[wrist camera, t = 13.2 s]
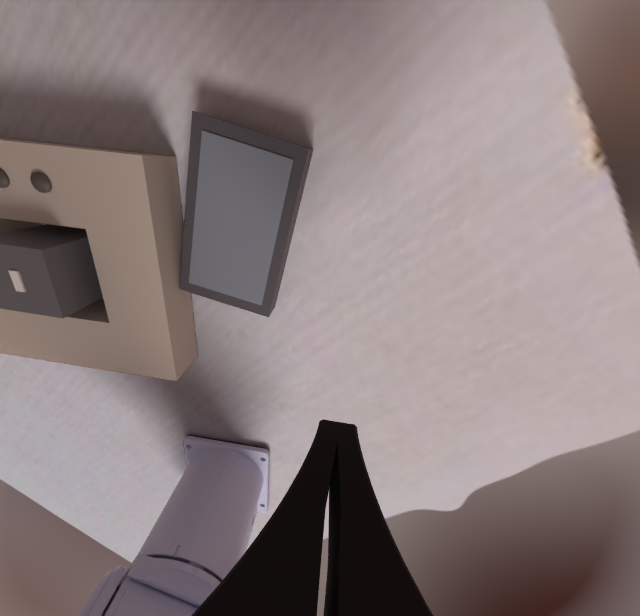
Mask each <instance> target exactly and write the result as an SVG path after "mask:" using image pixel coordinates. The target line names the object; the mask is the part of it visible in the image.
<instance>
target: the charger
mask: <svg viewBox="0 0 640 616" xmlns="http://www.w3.org/2000/svg"><path fill="white" fill-rule="evenodd" d="M101 298H103V295H102V291H101V287H100V283H99V280H98V276H97V272H96V268H95V264H94V260H93V256H92V252H91V248H90V244H89V240H88V236H87V232H86V229H82V228H74V227H66V226H58V225H51V224H45V225H40V226H35V227H30V228H25V229H20V230H15V231H10V232H5V233H0V309H6V310H13V311H19V312H25V313H31V314H38V315H44V316H50V317H57V318H65V317H67V316H69V315H71V314H73V313H75V312H77V311H79V310H80V309H82V308H84V307H86V306H88V305H90V304H92V303H94V302H96V301H98V300H100V299H101Z"/></svg>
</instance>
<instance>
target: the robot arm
mask: <svg viewBox="0 0 640 616" xmlns="http://www.w3.org/2000/svg"><path fill="white" fill-rule="evenodd" d="M183 444H184V450H185V457H186V463H187V469H186V470H185V472H184V474H183V476H182V478H181V479H180V481H179V483H178V485H177V486H176V488H175V490H174V492H173V493H172V495H171V497H170V499H169V500H168V502H167V504H166V506H165V508H164V509H163V511H162V513H161V515H160V516H159V518H158V520H157V522H156V523H155V525H154V527H153V529H152V530H151V532H150V534H149V536H148V538H147V539H146V541H145V543H144V545H143V546H142V548H141V550H140V552H139V553H138V555H137V557H136V558H135V560H134V561H133V562H132V564H131V565H130V567H129V568H128V570H127V571H126V568H125V567H123V566H122V565H119V566H117V567H116V569H115V570H111V571H109V572H107V573H105V574H104V576H103V578H102V579H101V581H100V583H99V584H98V586H97V587H96V589H95V591H94V592H93V594H92V595H91V597H90V599H89V600H88V602H87V603H86V605H85V607H84V608H83V610H82V611H81V613H80V615H79V616H317V603H318V590H319V578H320V565H321V553H322V542H323V530H324V519H325V508H326V502H327V497H328V492H329V544H328V545H329V546H328V572H327V583H326V596H325V606H324V616H433V614H432V613H431V611H430V609H429V607H428V606H427V604H426V602H425V600H424V598H423V597H422V595H421V593H420V591H419V589H418V587H417V585H416V583H415V581H414V580H413V578H412V576H411V574H410V572H409V570H408V568H407V566H406V565H405V562H404V561H403V558H402V556H401V554H400V552H399V550H398V548H397V546H396V544H395V541H394V539H393V537H392V535H391V533H390V530H389V528H388V526H387V523H386V521H385V519H384V516H383V514H382V511H381V509H380V506H379V504H378V501H377V498H376V496H375V493H374V490H373V487H372V485H371V482H370V478H369V475H368V472H367V469H366V466H365V463H364V459H363V455H362V452H361V448H360V443H359V439H358V433H357V427H356V426H355V425H353V424H347V423H341V422H334V421H328V420H321V421H320V422H319V426H318V430H317V433H316V436H315V438H314V441H313V443H312V446H311V448H310V450H309V452H308V454H307V457H306V459H305V461H304V463H303V465H302V467H301V469H300V471H299V472H298V474H297V476H296V478H295V479H294V481H293V483H292V485H291V486H290V488H289V490H288V492H287V493H286V495H285V496H284V498H283V500H282V501H281V503H280V504H279V506H278V507H277V509H276V510H275V512H274V513H273V515H272V516H271V518H270V519H269V521H268V522H267V524H266V525H265V526H264V528H263V529H262V531H261V532H260V533H259V535H258V536H257V538H256V539H255V540H254V542H253V543H252V544H251V546H250V547H249V548H248V549H247V545H248V542H249V538H250V535H251V532H252V528H253V525H254V521H255V518H256V514H257V513H260V514H266V513H267V511H268V491H269V455H270V453H269V451H268V450H267V449H264V448H258V447H252V446H246V445H240V444H234V443H228V442H223V441H217V440H211V439H205V438H199V437H193V436H186V437H185V438H184V440H183ZM246 549H247V551H246ZM125 571H126V573H125ZM124 573H125V574H124Z"/></svg>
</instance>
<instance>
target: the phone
mask: <svg viewBox="0 0 640 616" xmlns="http://www.w3.org/2000/svg"><path fill="white" fill-rule="evenodd" d="M312 152H313V150H312V149H309V148H306V147H303V146H300V145H297V144H294V143H291V142H287V141H284V140H281V139H278V138H275V137H272V136H269V135H266V134H263V133H260V132H257V131H254V130H250V129H247V128H244V127H241V126H238V125H235V124H232V123H229V122H226V121H223V120H220V119H216V118H213V117H210V116H207V115H204V114H201V113H198V112H195V111H192V125H191V139H190V153H189V167H188V180H187V194H186V208H185V222H184V235H183V249H182V263H181V277H180V289H181V290H184V291H187V292H190V293H194V294H197V295H200V296H203V297H206V298H209V299H213V300H216V301H219V302H222V303H225V304H228V305H232V306H235V307H238V308H241V309H244V310H248V311H251V312H254V313H257V314H260V315H263V316H267V317H269V316H270V314H271V313H272V311H273V309H274V308H275V305H276V300H277V296H278V292H279V288H280V284H281V280H282V276H283V272H284V268H285V263H286V259H287V255H288V251H289V247H290V243H291V239H292V235H293V231H294V226H295V222H296V218H297V214H298V210H299V206H300V202H301V198H302V194H303V189H304V185H305V181H306V177H307V173H308V169H309V165H310V161H311V157H312Z"/></svg>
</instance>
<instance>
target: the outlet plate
mask: <svg viewBox="0 0 640 616" xmlns="http://www.w3.org/2000/svg"><path fill="white" fill-rule="evenodd" d="M42 223H43V224H51V225H58V226H66V227H74V228H82V229H86V232H87V236H88V240H89V244H90V248H91V252H92V256H93V260H94V264H95V268H96V272H97V276H98V280H99V283H100V287H101V291H102V295H103V298H101V299H100V300H98V301H96V302H94V303H92V304H90V305H88V306H86V307H84V308H82V309H80V310H79V311H77V312H75V313H73V314H71V315H69V316H67V317H65V318H57V317H50V316H44V315H38V314H31V313H25V312H19V311H13V310H6V309H0V353H2V354H8V355H15V356H21V357H27V358H33V359H40V360H46V361H52V362H59V363H65V364H71V365H77V366H84V367H90V368H96V369H103V370H109V371H115V372H121V373H128V374H134V375H140V376H147V377H153V378H159V379H165V380H172V381H177V380H178V379H179V378H180V377H181V376H182V374H183V373H184V372H185V371H186V370H187V369H188V367H189V366H190V365H191V364H192V363H193V361H194V360H195V359H196V358H197V357H198V354H197V344H196V335H195V326H194V317H193V308H192V299H191V293H190V292H187V291H184V290H181V289H180V277H181V263H182V249H183V235H184V225H183V216H182V207H181V198H180V188H179V179H178V170H177V161H176V157H174V156H165V155H156V154H146V153H137V152H128V151H119V150H110V149H100V148H91V147H82V146H73V145H63V144H54V143H45V142H36V141H27V140H17V139H8V138H0V233H5V232H10V231H15V230H20V229H25V228H30V227H35V226H40V225H42Z"/></svg>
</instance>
